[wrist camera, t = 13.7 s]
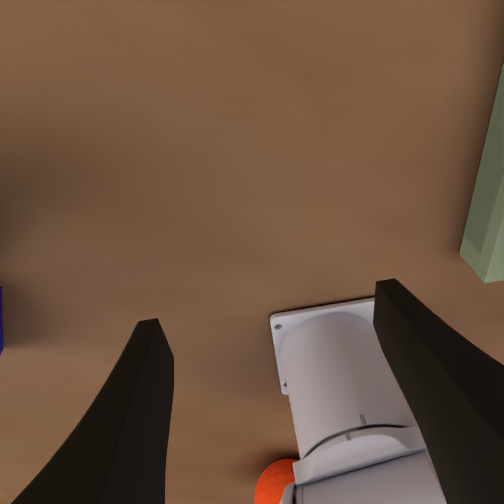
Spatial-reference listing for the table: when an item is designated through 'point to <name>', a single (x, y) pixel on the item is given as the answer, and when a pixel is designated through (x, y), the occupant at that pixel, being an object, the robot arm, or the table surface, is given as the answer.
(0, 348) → the blue curved piece
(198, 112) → the table surface
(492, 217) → the shelf
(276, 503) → the red tomato
